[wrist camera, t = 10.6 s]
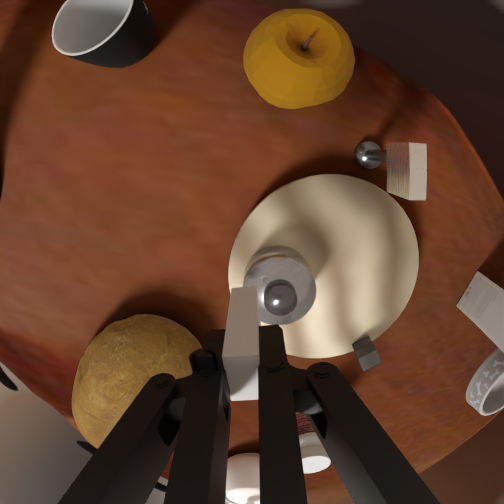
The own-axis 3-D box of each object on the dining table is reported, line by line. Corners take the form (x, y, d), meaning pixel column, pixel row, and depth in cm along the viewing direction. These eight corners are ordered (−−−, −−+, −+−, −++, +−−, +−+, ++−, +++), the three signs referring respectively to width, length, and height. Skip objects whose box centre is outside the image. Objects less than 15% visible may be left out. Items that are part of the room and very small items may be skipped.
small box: (454, 305, 36) (503, 354, 24) (476, 269, 35) (532, 310, 22) (479, 321, 37) (523, 366, 25) (499, 289, 36) (548, 328, 23)
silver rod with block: (355, 183, 31) (401, 200, 20) (353, 141, 30) (401, 137, 19) (379, 183, 31) (432, 200, 20) (378, 142, 30) (433, 141, 19)
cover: (264, 315, 33) (265, 344, 28) (231, 265, 32) (226, 287, 26) (320, 287, 32) (331, 312, 27) (291, 233, 30) (298, 250, 25)
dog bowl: (501, 396, 45) (511, 410, 40) (451, 408, 45) (462, 425, 40) (535, 336, 40) (548, 348, 35) (490, 340, 39) (506, 356, 34)
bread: (233, 338, 38) (226, 391, 29) (152, 449, 48) (141, 487, 39) (109, 271, 36) (70, 307, 26) (72, 407, 46) (52, 441, 36)
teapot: (256, 487, 52) (255, 525, 42) (200, 472, 50) (194, 512, 40) (314, 444, 46) (321, 490, 36) (248, 425, 44) (246, 478, 34)
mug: (181, 31, 26) (154, -7, 17) (129, 90, 28) (84, 72, 19) (118, -5, 24) (82, -39, 14) (72, 47, 26) (25, 27, 16)
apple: (281, 134, 30) (294, 123, 19) (226, 66, 28) (211, 25, 17) (352, 88, 28) (396, 62, 17) (298, 23, 26) (316, -29, 15)
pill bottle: (276, 407, 42) (279, 465, 32) (309, 389, 41) (320, 448, 30) (297, 424, 44) (304, 479, 33) (329, 408, 42) (342, 463, 32)
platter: (289, 381, 38) (291, 403, 34) (191, 237, 32) (181, 249, 28) (432, 307, 34) (447, 322, 30) (372, 139, 28) (388, 138, 24)
